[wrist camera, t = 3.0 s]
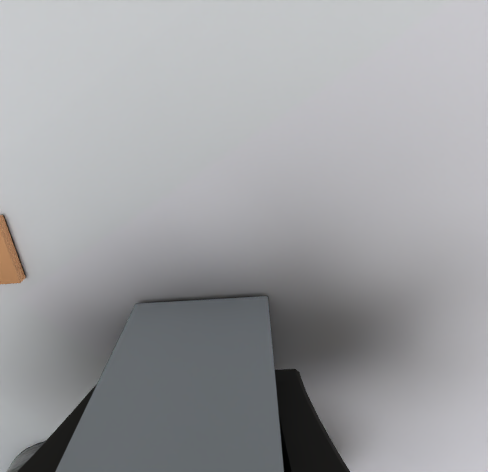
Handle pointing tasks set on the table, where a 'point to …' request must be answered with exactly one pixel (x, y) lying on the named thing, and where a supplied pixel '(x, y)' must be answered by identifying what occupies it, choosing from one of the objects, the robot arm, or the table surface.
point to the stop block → (185, 393)
